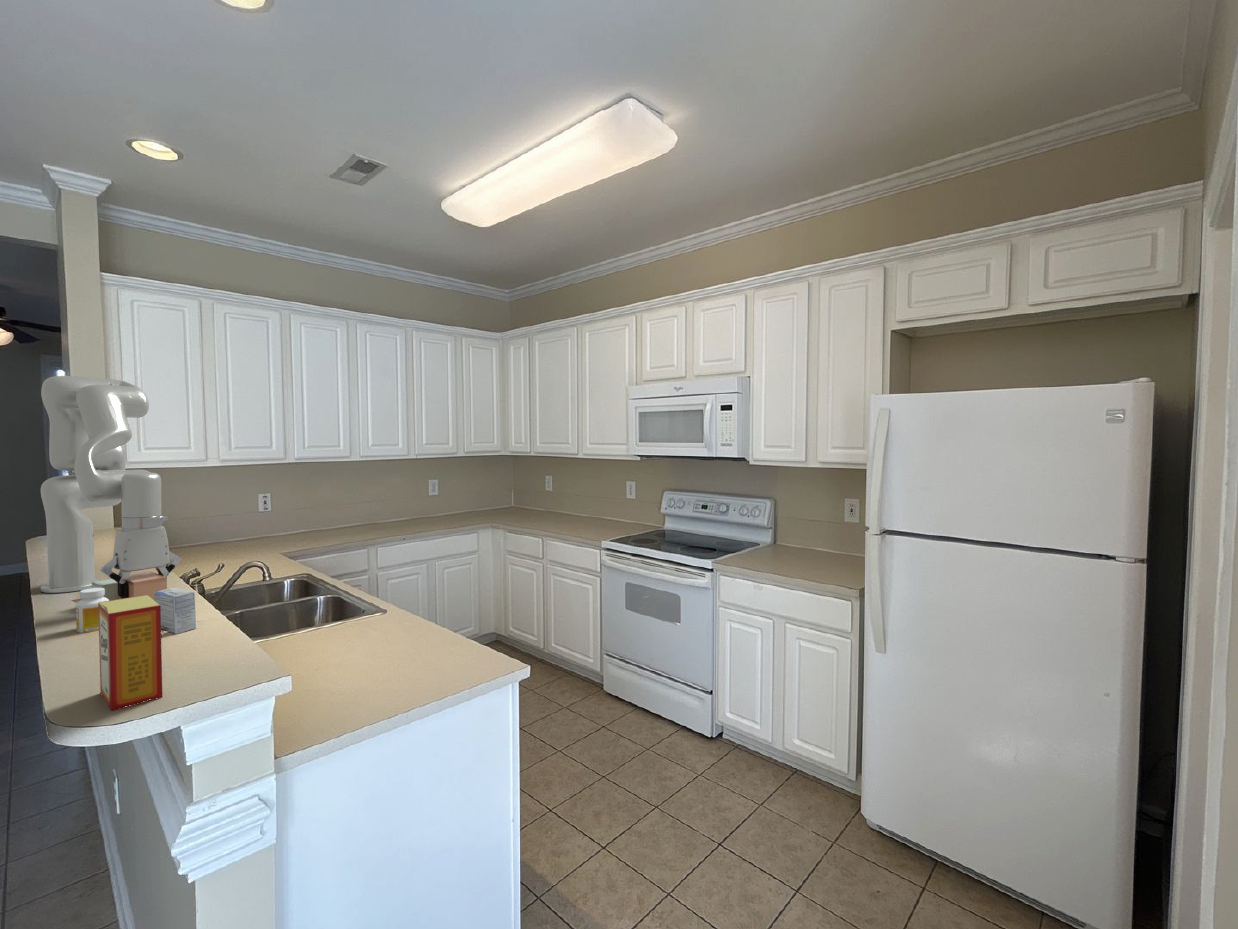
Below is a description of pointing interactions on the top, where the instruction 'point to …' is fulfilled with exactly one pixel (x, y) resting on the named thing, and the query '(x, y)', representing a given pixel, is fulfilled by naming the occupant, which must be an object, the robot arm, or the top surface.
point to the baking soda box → (130, 651)
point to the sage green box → (108, 588)
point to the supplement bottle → (89, 609)
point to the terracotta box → (146, 584)
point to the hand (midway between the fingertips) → (142, 594)
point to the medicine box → (177, 609)
